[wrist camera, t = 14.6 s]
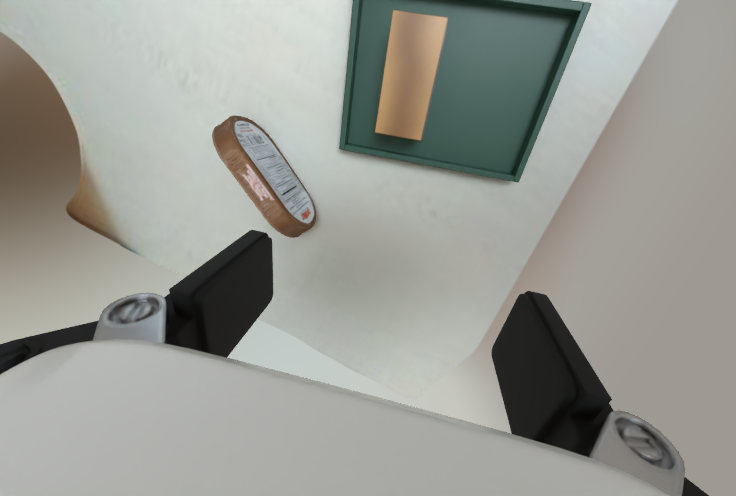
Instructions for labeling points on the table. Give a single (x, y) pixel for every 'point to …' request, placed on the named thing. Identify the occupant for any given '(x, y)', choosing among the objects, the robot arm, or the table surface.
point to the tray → (466, 81)
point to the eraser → (410, 73)
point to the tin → (264, 175)
